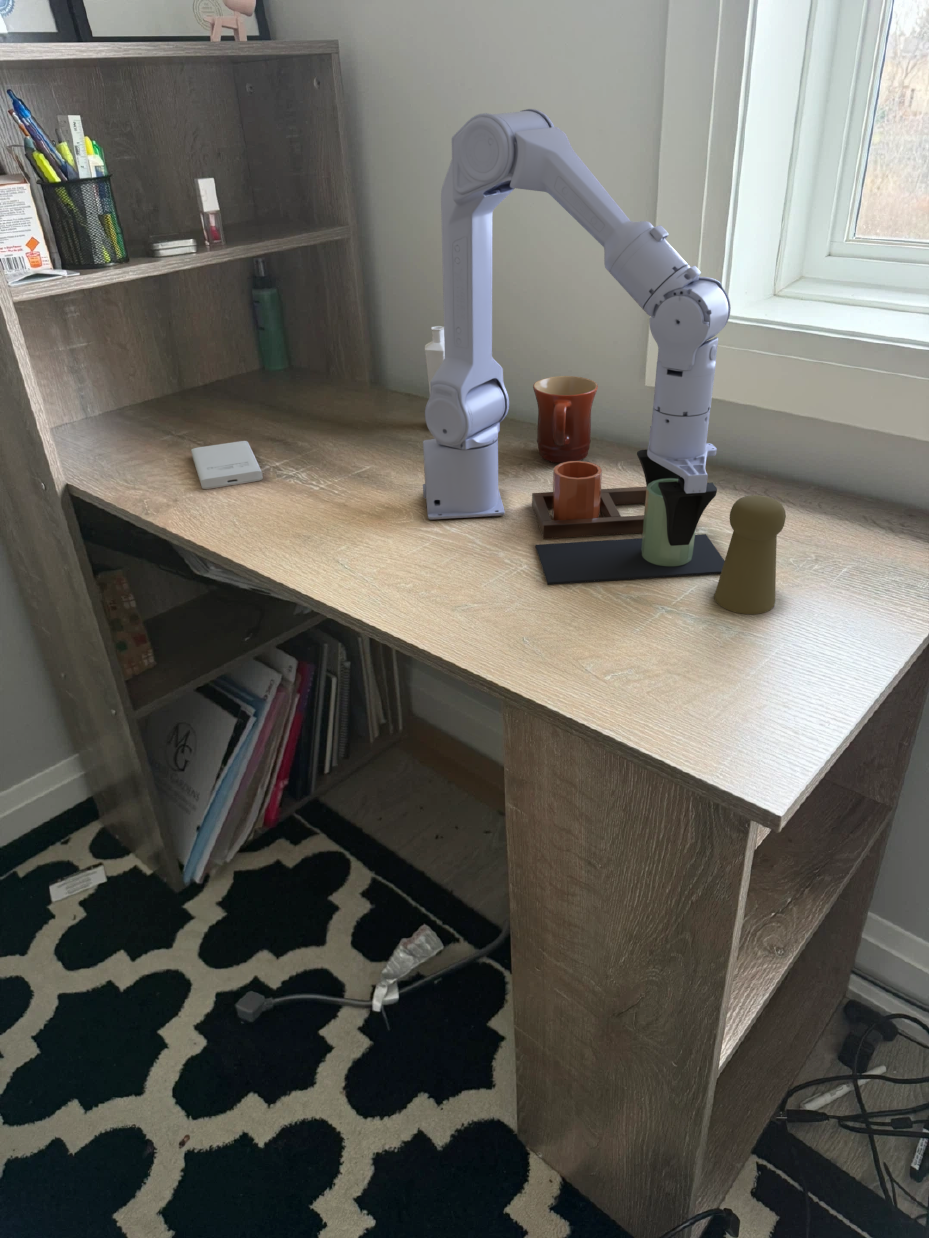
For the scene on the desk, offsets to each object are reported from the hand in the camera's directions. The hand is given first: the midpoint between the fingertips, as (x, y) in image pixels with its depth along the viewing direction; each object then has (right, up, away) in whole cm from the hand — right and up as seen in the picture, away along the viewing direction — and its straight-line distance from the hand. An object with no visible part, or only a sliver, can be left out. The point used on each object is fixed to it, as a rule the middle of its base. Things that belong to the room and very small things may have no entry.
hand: (669, 528), depth 98 cm
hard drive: (-56, +11, +28) cm, 64 cm away
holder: (-5, +2, +11) cm, 12 cm away
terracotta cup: (-9, +2, +11) cm, 14 cm away
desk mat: (-4, -3, +2) cm, 5 cm away
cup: (0, -3, +2) cm, 3 cm away
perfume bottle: (-26, +20, +41) cm, 52 cm away
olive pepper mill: (+6, -8, -6) cm, 12 cm away
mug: (-9, +12, +27) cm, 31 cm away
